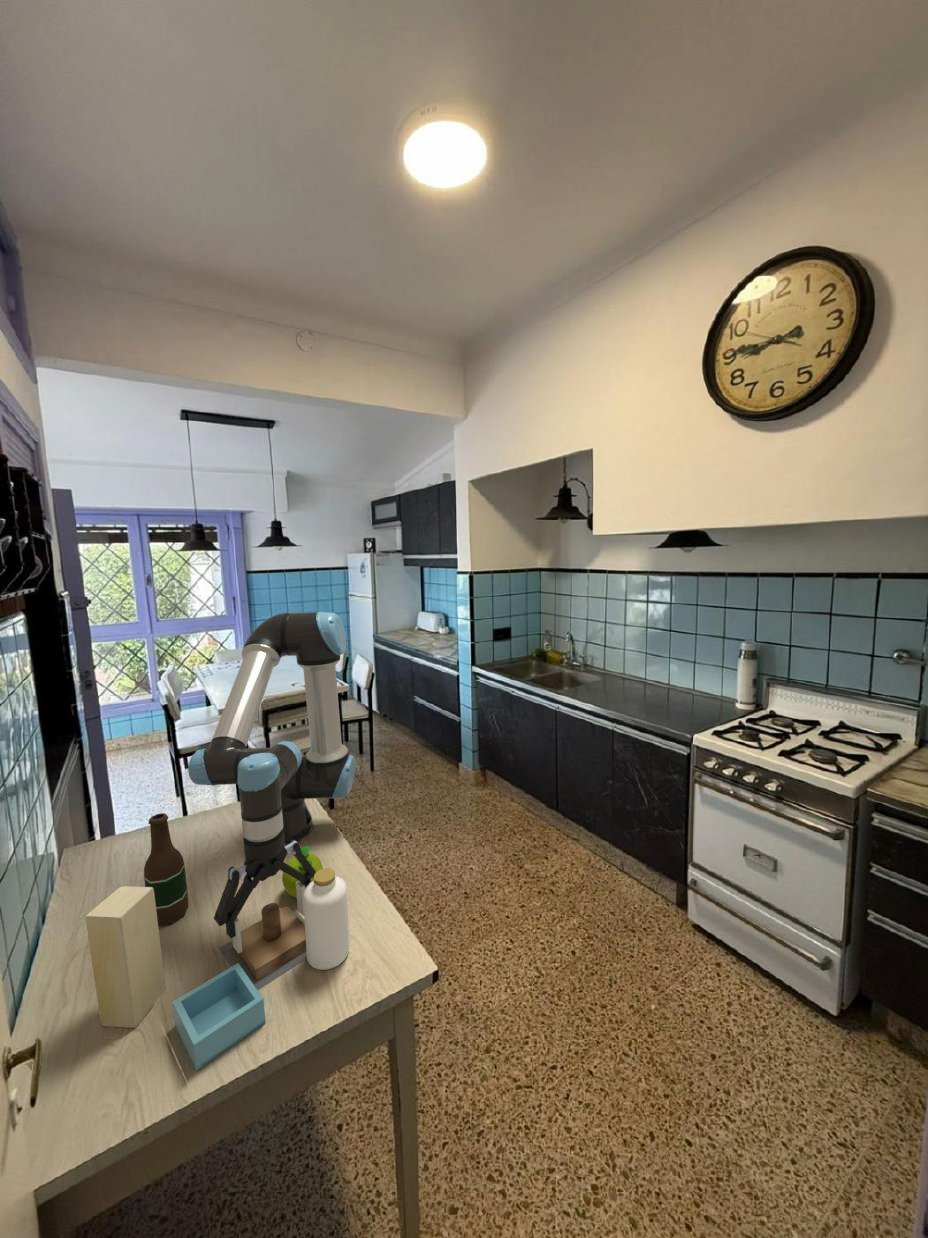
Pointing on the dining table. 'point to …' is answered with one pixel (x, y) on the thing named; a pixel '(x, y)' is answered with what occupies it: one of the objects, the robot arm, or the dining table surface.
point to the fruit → (300, 870)
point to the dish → (218, 1015)
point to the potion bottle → (326, 920)
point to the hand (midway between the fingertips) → (271, 930)
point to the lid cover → (272, 941)
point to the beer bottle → (166, 873)
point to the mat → (234, 959)
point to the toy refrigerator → (126, 956)
